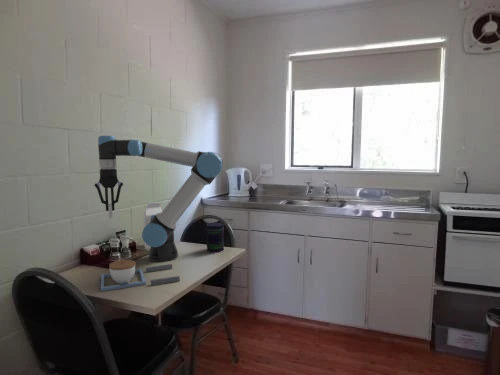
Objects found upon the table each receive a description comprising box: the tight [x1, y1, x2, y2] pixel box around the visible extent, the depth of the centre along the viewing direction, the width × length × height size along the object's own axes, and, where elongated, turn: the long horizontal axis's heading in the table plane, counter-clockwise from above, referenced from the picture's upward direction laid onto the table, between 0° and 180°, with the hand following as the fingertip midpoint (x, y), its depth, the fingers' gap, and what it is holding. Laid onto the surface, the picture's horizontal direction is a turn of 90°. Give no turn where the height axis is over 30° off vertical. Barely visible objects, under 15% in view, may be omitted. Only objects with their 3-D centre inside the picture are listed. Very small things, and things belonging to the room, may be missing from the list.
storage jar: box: [205, 221, 225, 253], centre depth 192 cm, size 10×10×15 cm
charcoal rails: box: [145, 263, 181, 286], centre depth 153 cm, size 12×18×2 cm, turn 23°
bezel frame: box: [100, 268, 147, 292], centre depth 147 cm, size 17×17×2 cm
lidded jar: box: [108, 258, 136, 284], centre depth 147 cm, size 11×11×9 cm
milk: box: [143, 201, 163, 250], centre depth 201 cm, size 12×12×26 cm
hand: (110, 217), depth 163 cm, fingers closed
